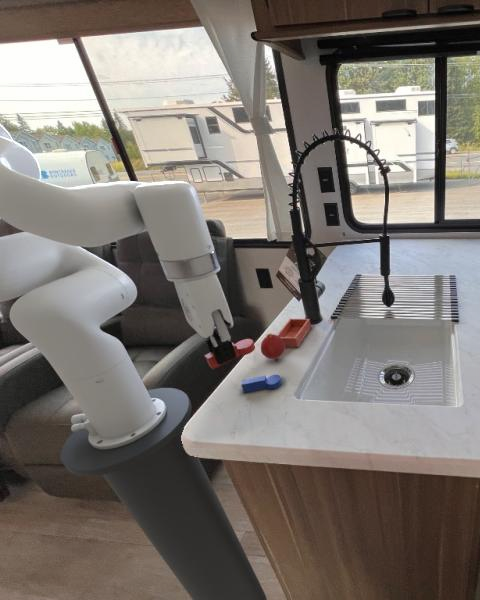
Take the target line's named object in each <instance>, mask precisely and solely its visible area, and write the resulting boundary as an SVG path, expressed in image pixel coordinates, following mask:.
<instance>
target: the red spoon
mask: <svg viewBox="0 0 480 600" xmlns="http://www.w3.org/2000/svg"><path fill="white" fill-rule="evenodd" d="M232 344H233V347H234V350H235V353H236V358H238V357H241V356H247V355H249V354H251V353H253V352H254V351H255V349H256V345H255V343H254V340H253V339H252V338H244V339H241V340H239V341H237V342H236V343H234V342H233V341H232ZM204 358H205V360H206V362H207V365H208V366H209V367H210V368H211V370H214V369H217V368H219V367H220V366H223V365H224V364H226V363H228V362H231V361H232V360H235V359H236V358H234V359H232V360H230V361H228V362H225V363H223V364H221V365H219V364H218V363H217V361H216V358H215V356H214V353H213V352H210V351H209V352H208V353H206V354H204Z"/></svg>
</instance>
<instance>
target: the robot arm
mask: <svg viewBox="0 0 480 600" xmlns="http://www.w3.org/2000/svg"><path fill="white" fill-rule="evenodd" d="M38 161H39V160H37V158H36V156H35V155H34V154H33V153H32V152H31V151H30V150H29V149H28V148H27V147H25V146H24V145H22V144H20V143H19V142H17V141H14V139H13V138H12V136H11V134H10V133H9V131H8V130H7V129H6V128H5V127H4V125H2V124H0V219H2V221H4V222H6V223H7V224H9V225H10V226H12V227H14V228H16V229H18V230H20V231H21V232H16V233H13V234H8V235H3V236H0V303H3V302H8V301H10V300H13V299H16V298H18V299H17V300H16V301H15V302H13V304H12V306H11V307H10V309H9V320H10V322H11V324H12V326H13V327H14V328H15V329H16V331H18V333H19V334H21V335H22V337H24V338H25V339H26V340H27V341H28V342H30V344H32V345H33V346H34V348H36V349H37V350H38V351H39V353H41V354H42V356H43V357H44V358H45V359H46V360H47V361H48V363H49V364H50V366H51V367H52V368H53V370H54V371H55V373H56V374H57V376H58V377H59V378H60V380H61V381H62V382H63V384H64V386H65V387H66V389H67V390H68V392H69V393H70V395H71V396H72V398H73V399H74V401H75V402H76V404H77V405H78V406H79V408H80V410H81V411H82V412H83V413H82V412H81V413H79V414H78V413H77V414H74V415H72V416H71V418H70V423H71V424H72V425H71V427H70V430H71V432H72V433H73V432H75V431H80V430H83V429H86V430H88V431H89V432H90V433H89V436H88V439H89V442H90V444H91V445H92V446H93V447H94V448H97V449H112V448H117V447H121V446H124V445H126V444H129V443H131V442H133V441H135V440H137V439H139V438H141V437H143V436H144V435H146V434H147V433H149V432H150V431H151V430H152V429H154V428H155V427H156V426H157V425H158V424H159V423H160V422H161V420H162V419H163V417H164V416H165V413H166V406H165V404H164V402H163V401H162V400H160V399H157V398H151V397H150V395H149V393H148V391H147V390H148V389H147V387H146V386H145V384H144V382H143V380H142V378H141V377H140V375H139V372H138V371H137V369H136V367H135V364H134V362H133V361H132V359H131V357H130V355H129V354H128V351H127V349H126V348H125V346H124V344H123V343H122V341H120V339H118V338H117V337H115V336H113V335H111V334H109V333H107V332H105V331H103V330H102V329H101V325H103V324H105V323H106V322H107V321H108V320H111V318H113V317H115V316H116V315H118V314H120V313H122V312H123V311H124V310H126V309H127V308H129V307H130V306H131V305H133V303H135V301H136V300H137V296H138V289H137V286H136V284H135V282H134V281H133V280H132V279H131V277H129V276H128V274H126V273H125V272H124V271H123V270H121V269H119V268H118V267H117V266H115V265H113V264H111V263H110V262H108V261H106V260H104V259H102V258H101V257H99V256H98V255H96V254H94V253H91V252H90V251H88V250H87V249H85V248H96V247H102V246H105V245H108V244H111V243H114V242H118V241H120V240H123V239H125V238H128V237H131V236H135V235H139V234H142V233H144V232H147V233H148V236H149V238H150V241H151V243H152V245H153V248H154V251H155V253H156V255H157V257H158V260H159V262H160V265H161V268H162V271H163V273H164V275H165V278H166V280H167V281H168V282H172V283H173V284H174V288H175V291H176V294H177V297H178V300H179V303H180V305H181V308H182V311H183V314H184V317H185V320H186V322H187V323H188V325H189V326H190V327H191V328H192V329H193V330H194V331H195V332H196V333H197V334H198V335H199V336H200V337H202V338H205V343H206V346H207V349H208V351H209V353H210V352H213V353H214V356H215V358H216V361H217V363H218V364H219V365H221V364H223V363H225V362H227V363H228V361H229V362H231V361H232V359H233V360H235V359H236V353H235V350H234V347H233V344H232V342H233V341H232V336H231V334H230V332H229V329H232V328H233V327H234V320H233V316H232V313H231V309H230V307H229V304H228V301H227V298H226V296H225V293H224V290H223V288H222V284H221V283H220V280H219V278H218V272H220V271H221V265H220V262H219V259H218V255H217V253H216V250H215V245H214V244H213V240H212V237H211V234H210V230H209V227H208V224H207V221H206V218H205V214H204V211H203V207H202V204H201V201H200V198H199V195H198V192H197V190H196V188H195V187H194V186H193V185H192V184H191V183H189V182H186V181H180V180H179V181H176V180H174V181H172V180H171V181H157V182H140V181H131V180H128V181H127V180H126V181H125V180H123V181H122V180H121V181H113V182H104V183H103V182H101V183H95V184H87V185H79V186H74V187H63V186H60V185H55V184H52V183H48V182H46V181H43V180H41V178H42V177H41V176H42V175H41V174H42V172H41V166H40V164H39V162H38ZM234 358H235V359H234ZM230 360H231V361H230ZM225 364H226V363H225ZM223 365H224V364H223ZM221 366H222V365H221Z"/></svg>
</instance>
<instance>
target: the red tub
mask: <svg viewBox="0 0 480 600" xmlns="http://www.w3.org/2000/svg"><path fill="white" fill-rule="evenodd" d="M311 328H312V325H311V320H310V318H289V319H288V321H287V322H286V323H285V324H284V325H283V326H282V328H281V329H280V330H279V331H278V333H277V334H276V335H277V336H279V337H280V338H281V339H282V340H283V341H284V343H285V348H299V347H300V345H301V344H302V342H303V341H304V339H305V338H306V336H307V335H308V333H309V331H310V330H311Z"/></svg>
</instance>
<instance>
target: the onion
mask: <svg viewBox="0 0 480 600" xmlns="http://www.w3.org/2000/svg"><path fill="white" fill-rule="evenodd" d="M285 351H286V347H285V343H284V341H283V340H282V339H281V338H280V337H279V336H277V334H273V333H272V332H268V334H266V336H265V337H264V338H263V340H262V341H261V343H260V352H261V354H262V356H264V357H265V358H267V359H271V360H277V359H280V357H281V356H282V355H283V354H284V353H285Z"/></svg>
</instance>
